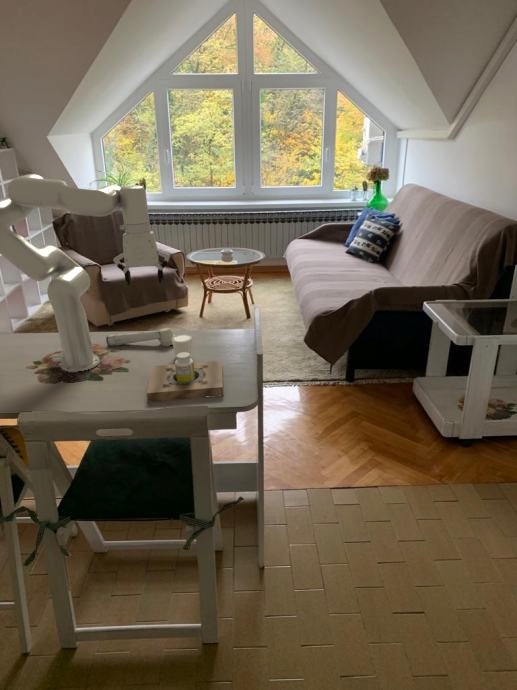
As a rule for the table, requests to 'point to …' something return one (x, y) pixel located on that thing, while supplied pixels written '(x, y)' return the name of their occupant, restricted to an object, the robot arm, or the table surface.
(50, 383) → the table surface
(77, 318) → the robot arm
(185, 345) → the beige cylinder
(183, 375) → the supplement bottle
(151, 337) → the grey elongated piece
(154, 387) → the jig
